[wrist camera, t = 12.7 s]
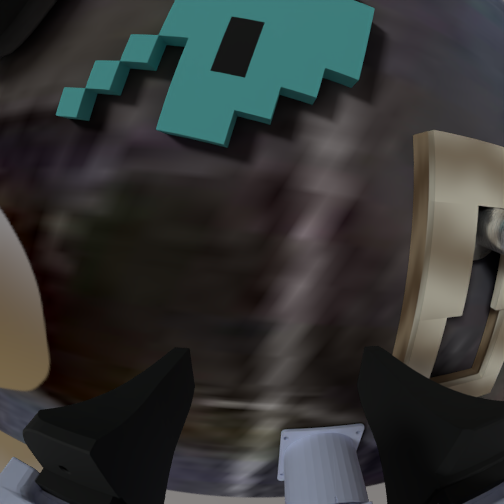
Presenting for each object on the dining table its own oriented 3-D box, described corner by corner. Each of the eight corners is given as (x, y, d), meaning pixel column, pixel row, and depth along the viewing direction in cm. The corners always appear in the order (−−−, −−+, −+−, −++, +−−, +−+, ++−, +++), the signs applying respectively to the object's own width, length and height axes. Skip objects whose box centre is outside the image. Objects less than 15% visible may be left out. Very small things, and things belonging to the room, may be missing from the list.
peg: (488, 255, 19) (546, 283, 12) (441, 256, 19) (502, 290, 12) (494, 189, 18) (557, 200, 10) (446, 183, 18) (513, 190, 11)
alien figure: (71, 119, 18) (325, 177, 19) (55, 115, 16) (332, 177, 17) (158, -59, 14) (375, -27, 14) (151, -72, 11) (382, -40, 12)
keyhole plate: (476, 376, 22) (490, 392, 19) (380, 397, 22) (390, 419, 20) (516, 158, 17) (538, 158, 14) (412, 135, 17) (433, 129, 14)
